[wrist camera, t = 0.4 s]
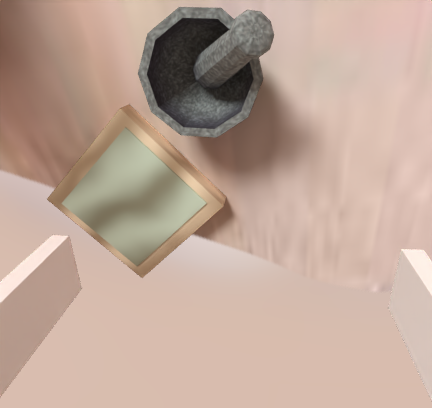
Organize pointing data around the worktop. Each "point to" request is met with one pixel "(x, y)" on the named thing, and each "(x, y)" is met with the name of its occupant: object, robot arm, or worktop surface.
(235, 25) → the mortar and pestle
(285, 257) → the worktop surface
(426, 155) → the worktop surface
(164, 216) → the beige flat pad
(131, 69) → the worktop surface
